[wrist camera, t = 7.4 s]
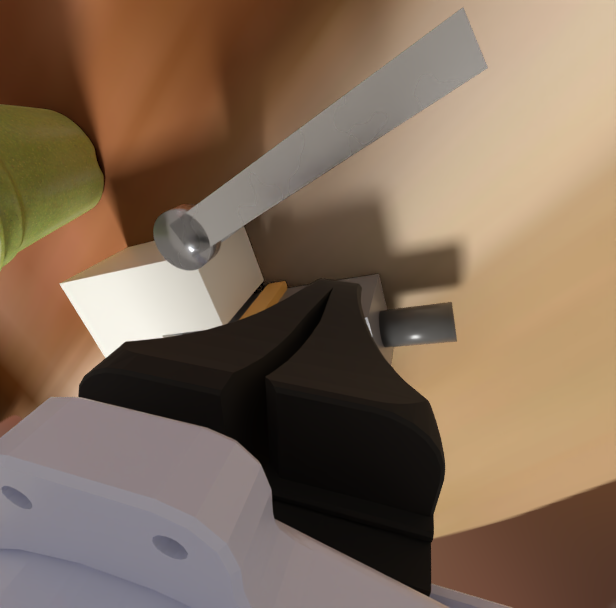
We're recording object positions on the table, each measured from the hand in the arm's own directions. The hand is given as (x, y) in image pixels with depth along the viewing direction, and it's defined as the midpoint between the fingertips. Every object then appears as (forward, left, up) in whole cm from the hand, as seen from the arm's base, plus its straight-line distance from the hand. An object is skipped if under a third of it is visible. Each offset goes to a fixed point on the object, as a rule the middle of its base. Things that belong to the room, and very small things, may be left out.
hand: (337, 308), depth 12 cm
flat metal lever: (+4, +1, -4) cm, 6 cm away
